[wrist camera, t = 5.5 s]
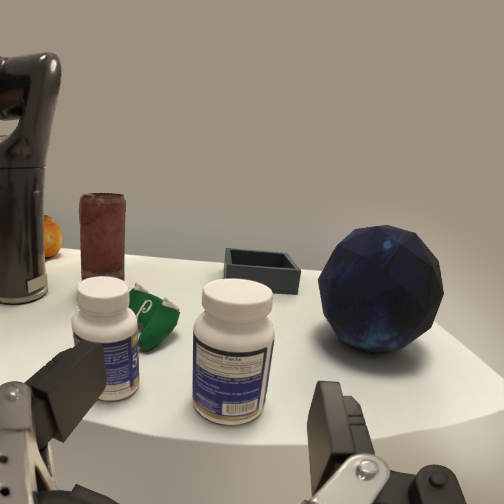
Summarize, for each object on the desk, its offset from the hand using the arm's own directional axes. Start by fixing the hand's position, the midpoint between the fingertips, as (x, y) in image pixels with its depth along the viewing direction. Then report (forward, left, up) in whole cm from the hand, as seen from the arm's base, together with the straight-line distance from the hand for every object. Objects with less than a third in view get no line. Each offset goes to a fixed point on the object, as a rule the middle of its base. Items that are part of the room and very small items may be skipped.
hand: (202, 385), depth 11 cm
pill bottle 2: (+2, +11, -10) cm, 15 cm away
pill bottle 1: (-8, +12, -10) cm, 18 cm away
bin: (+8, +44, -10) cm, 45 cm away
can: (-15, +31, -10) cm, 36 cm away
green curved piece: (-8, +22, -10) cm, 26 cm away
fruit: (-35, +44, -9) cm, 57 cm away
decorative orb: (+19, +22, -10) cm, 30 cm away
